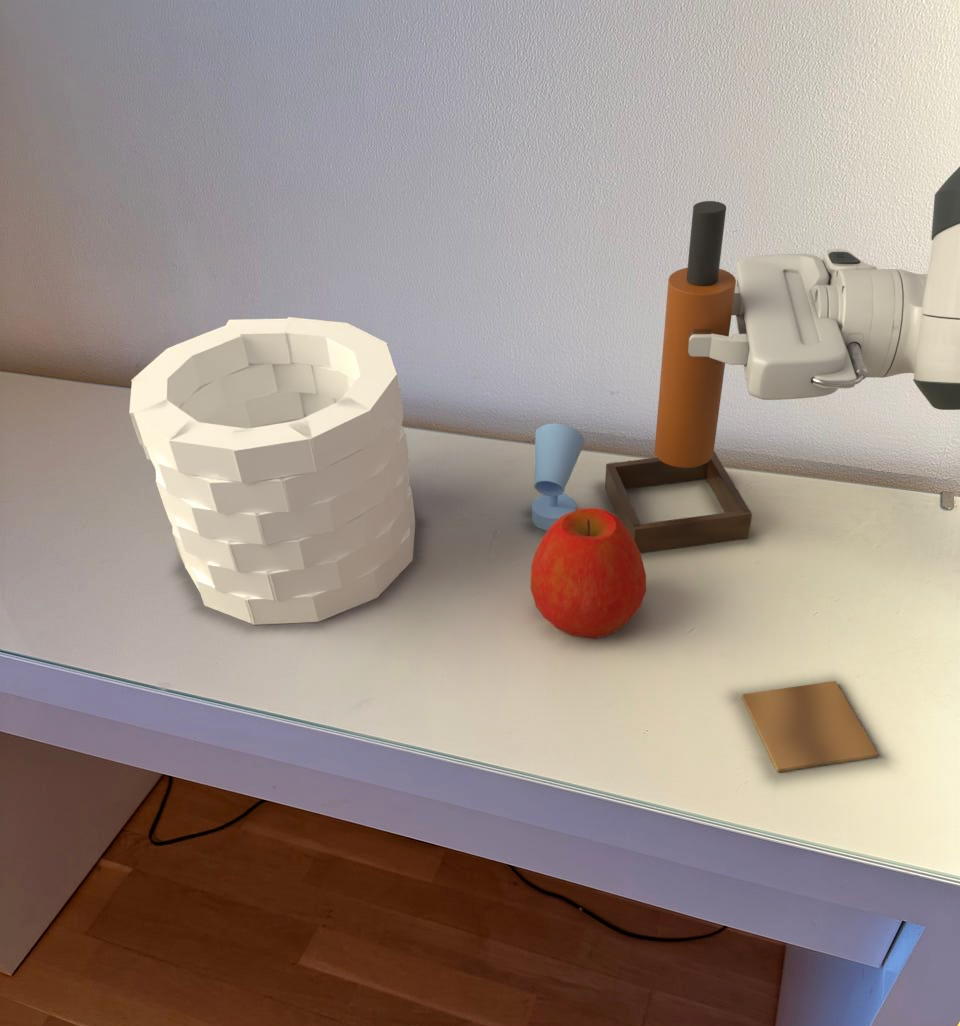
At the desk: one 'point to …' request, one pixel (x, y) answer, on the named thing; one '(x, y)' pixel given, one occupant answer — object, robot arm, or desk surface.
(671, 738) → the desk surface
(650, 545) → the square frame
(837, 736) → the coaster
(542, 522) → the spotlight
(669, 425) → the bottle
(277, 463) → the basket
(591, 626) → the apple
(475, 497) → the desk surface
